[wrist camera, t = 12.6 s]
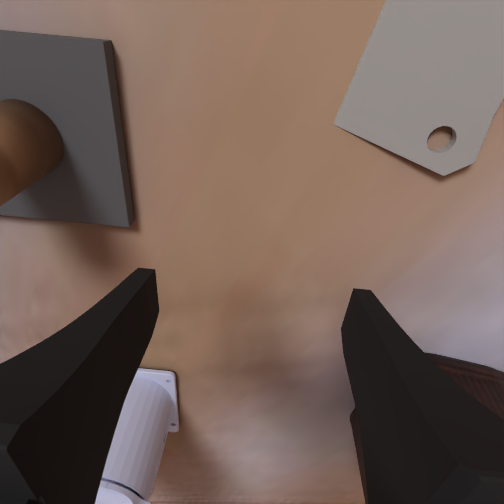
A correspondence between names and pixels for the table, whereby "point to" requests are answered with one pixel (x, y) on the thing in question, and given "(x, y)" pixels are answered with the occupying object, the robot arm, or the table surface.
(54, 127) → the peg
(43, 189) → the mat
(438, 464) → the robot arm
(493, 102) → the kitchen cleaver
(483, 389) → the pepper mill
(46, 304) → the table surface
